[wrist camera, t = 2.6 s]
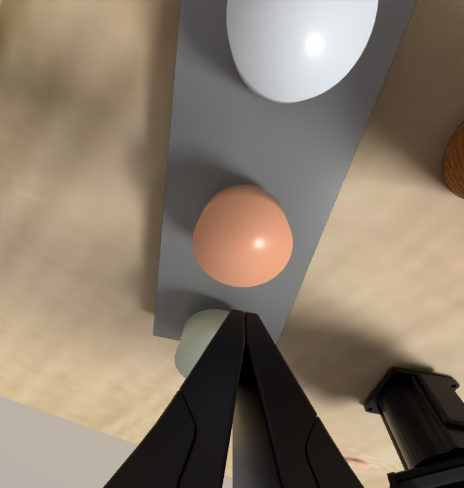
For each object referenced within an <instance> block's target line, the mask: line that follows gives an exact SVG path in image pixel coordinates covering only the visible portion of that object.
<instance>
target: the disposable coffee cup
mask: <svg viewBox="0 0 464 488" xmlns="http://www.w3.org/2000/svg"><path fill="white" fill-rule="evenodd" d="M443 171H444V178H445V181H446V184H447V185H448V187H449V188H450V189H451V191H452V192H453V193H455V194H456V195H458V196H459V197H461V198H463V199H464V122H463V123H462V124H461V125H460V127H459V128H458V130H457V131H456V133H455V134H454V136H453V137H452V139H451V141H450V143H449V145H448V147H447V150H446V153H445V156H444V162H443Z"/></svg>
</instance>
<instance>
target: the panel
mask: <svg viewBox="0 0 464 488" xmlns="http://www.w3.org/2000/svg"><path fill="white" fill-rule="evenodd" d="M416 2H417V0H378V7H377V13H376V18H375V22H374V26H373V29H372V32H371V35H370V37H369V40H368V42H367V44H366V47H365V48H364V50H363V52H362V54H361V56H360V57H359V59H358V60H357V62H356V63H355V65H354V66H353V67H352V69H351V70H350V71H349V72H348V73H347V75H346V76H345V77H343V78H342V79H341V80H340V81H339V82H338V83H337V84H336V85H334V86H333V87H332V88H330V89H329V90H327V91H325V92H324V93H322V94H320V95H317V96H315V97H313V98H309V99H306V100H303V101H299V102H296V103H290V104H277V103H272V102H269V101H266V100H264V99H262V98H260V97H259V96H257V95H256V94H254V93H253V92H252V91H251V90H250V89H249V88H248V87H247V85H246V84H245V83H244V82H243V80H242V78H241V77H240V75H239V73H238V71H237V68H236V65H235V62H234V59H233V55H232V51H231V48H230V43H229V38H228V32H227V12H226V11H227V0H181V5H180V17H179V29H178V41H177V53H176V65H175V77H174V89H173V102H172V114H171V126H170V138H169V150H168V162H167V174H166V186H165V198H164V210H163V222H162V235H161V247H160V259H159V271H158V283H157V295H156V307H155V319H154V331H153V335H154V336H159V337H164V338H170V339H175V340H180V339H181V335H182V332H183V329H184V326H185V323H186V322H187V320H188V319H189V318H190V317H191V316H192V315H194V314H195V313H197V312H200V311H203V310H207V309H220V310H225V311H229V312H230V311H231V309H238V310H243V311H244V313H245V312H246V311H248V312H253V313H257V314H258V315H259V317H260V318H261V320H262V322H263V324H264V325H265V327H266V329H267V330H268V332H269V334H270V335H271V337H272V339H273V340H274V342H275V344H276V345H277V343H278V340H279V338H280V335H281V333H282V330H283V328H284V326H285V323H286V321H287V318H288V316H289V313H290V311H291V308H292V306H293V304H294V301H295V299H296V296H297V294H298V291H299V289H300V286H301V284H302V282H303V279H304V277H305V274H306V272H307V269H308V267H309V264H310V262H311V259H312V257H313V255H314V252H315V250H316V247H317V245H318V242H319V240H320V237H321V235H322V233H323V230H324V228H325V225H326V223H327V220H328V218H329V215H330V213H331V210H332V208H333V206H334V203H335V201H336V198H337V196H338V193H339V191H340V188H341V186H342V184H343V181H344V179H345V176H346V174H347V171H348V169H349V166H350V164H351V161H352V159H353V157H354V154H355V152H356V149H357V147H358V144H359V142H360V139H361V137H362V135H363V132H364V130H365V127H366V125H367V122H368V120H369V117H370V115H371V113H372V110H373V108H374V105H375V103H376V100H377V98H378V95H379V93H380V90H381V88H382V86H383V83H384V81H385V78H386V76H387V73H388V71H389V68H390V66H391V64H392V61H393V59H394V56H395V54H396V51H397V49H398V46H399V44H400V41H401V39H402V37H403V34H404V32H405V29H406V27H407V24H408V22H409V19H410V17H411V15H412V12H413V10H414V7H415V5H416ZM234 185H253V186H256V187H259V188H262V189H264V190H266V191H267V192H269V193H270V194H272V195H273V196H274V197H275V198H276V199H277V200H278V202H279V203H280V205H281V206H282V208H283V211H284V213H285V216H286V219H287V221H288V224H289V227H290V230H291V233H292V238H293V248H292V253H291V257H290V259H289V261H288V263H287V265H286V266H285V268H284V269H283V270H282V271H281V272H280V273H279V274H278V275H277V276H276V277H274V278H273V279H271V280H270V281H268V282H266V283H263V284H260V285H257V286H252V287H234V286H229V285H226V284H223V283H221V282H219V281H217V280H215V279H213V278H212V277H210V276H209V275H208V274H207V273H206V272H205V271H204V270H203V269H202V268H201V266H200V265H199V263H198V262H197V260H196V257H195V255H194V251H193V244H192V240H193V233H194V229H195V227H196V224H197V222H198V220H199V218H200V216H201V214H202V212H203V210H204V208H205V206H206V204H207V203H208V201H209V200H210V199H211V198H212V197H213V196H214V195H215V194H216V193H218V192H219V191H221V190H223V189H225V188H227V187H230V186H234Z"/></svg>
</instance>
